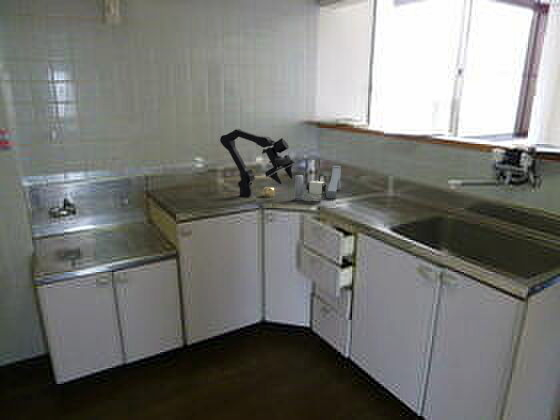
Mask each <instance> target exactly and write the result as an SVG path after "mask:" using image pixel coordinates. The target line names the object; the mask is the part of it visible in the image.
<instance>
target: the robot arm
mask: <svg viewBox="0 0 560 420" xmlns="http://www.w3.org/2000/svg"><path fill="white" fill-rule="evenodd" d="M238 138H240V139H244V140H246V141H250V142H253V143H254V144H256V145H258V146H259V147H261V148H263V149H262V152H261V154H262V155H263V154H266V155H267V158H268V159H269V161H268V163H269V164H271V165H272V167H271V168H269V169H268V170H266V171H265V173H264V174H265V177H266V178H270V179H272V180H274V181H275V182H277V184H279V185H282V181H281V179H280V177H279V176H278V175H279V174H278V171H280V170H282V169H283V168H284V169H283V170H284V171H285V173H286V175H288V177H289V179H291V180H292V179H293V173H292V168H293V166H294V164H295V162H294V160H293V159H291V158H290V155H289V154H285V155H284V156H283V157H282V156H281V155H279V154H282V153H283V152H285V151H287V150H288V149H290V148H289V144H288V143H287V141H286V140H285V139H284V138H283V137H282V138H279V140H276V141H274V140H273V139H272V138H271V137H270V136H266V135H265V136H263V135H256V134H255V133H251V132H248V131H244V130H242V129H240V128H239V129H238V128H237V129H236V128H235V129H234V130H233V131H230V132H229V133H226V134H223V135H221V136H220V138H219V141H220V143H221V145H222V146H223V147H224V148H225V149H226V150H227V151H228V153H229V154H230V157H231V158H232V160H233V163H234V164H235V165H236V167H237V169H238V171H239V177H240V180H239V181H238V182H237V185H238V187H239V195H238V197H242V196H250V197H251V196H252V195H253V188H252V186H253V183H254V181H255V179H256V177H255V173H254V172H253V170H252V168H251V169H249V168H248V167H247V166H246V164H245V162H244V160H243V158H242V156H241V155H240V152H239V151H238V149H237V147H236V141H235V140H237V139H238ZM278 153H279V154H278Z"/></svg>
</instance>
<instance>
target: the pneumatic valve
mask: <svg viewBox="0 0 560 420" xmlns="http://www.w3.org/2000/svg"><path fill="white" fill-rule="evenodd" d="M305 186H306V187H305V189H306V190H307V192H308V194H313V195H312V196H311V199H312V202H321V201H322V199H323V196H322V195H324V194H326V192H327V191H328V187H329V185H328V184H327V182H326V181H319V180H318V179H316V180H311V181H308V182H307V183H306V185H305Z"/></svg>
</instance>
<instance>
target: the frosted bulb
mask: <svg viewBox="0 0 560 420" xmlns="http://www.w3.org/2000/svg"><path fill="white" fill-rule="evenodd" d="M294 177H295V178H294V197H293V198H295V199H303V198H305V195H304V175H303V174H302V175H301V174H297V175H295V176H294Z"/></svg>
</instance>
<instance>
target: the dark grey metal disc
mask: <svg viewBox="0 0 560 420" xmlns="http://www.w3.org/2000/svg"><path fill="white" fill-rule="evenodd" d="M305 199H306V198H305V197H304V198H303V199H295V198H294V197H293V201H296V202H302V201H305Z"/></svg>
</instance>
